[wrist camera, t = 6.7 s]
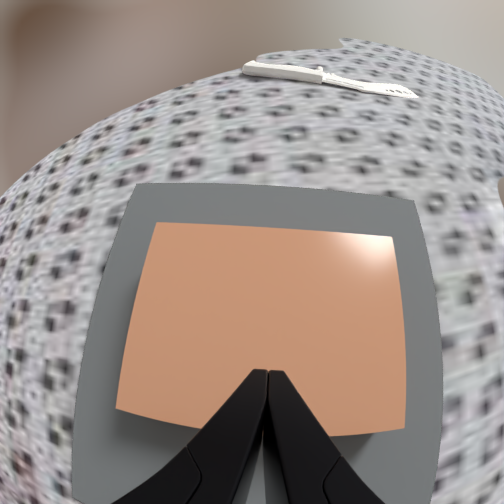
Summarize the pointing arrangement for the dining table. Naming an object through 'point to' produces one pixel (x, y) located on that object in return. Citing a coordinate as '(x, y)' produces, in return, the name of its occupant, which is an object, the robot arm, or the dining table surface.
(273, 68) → the knife
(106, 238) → the dining table surface
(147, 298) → the tile
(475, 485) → the dining table surface
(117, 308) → the mat
